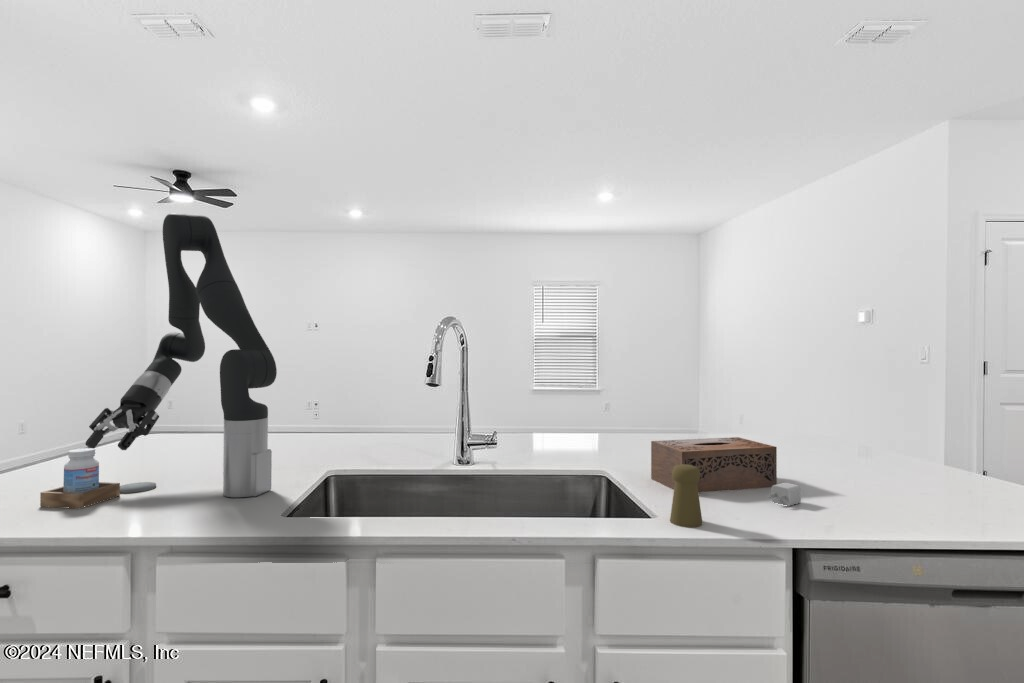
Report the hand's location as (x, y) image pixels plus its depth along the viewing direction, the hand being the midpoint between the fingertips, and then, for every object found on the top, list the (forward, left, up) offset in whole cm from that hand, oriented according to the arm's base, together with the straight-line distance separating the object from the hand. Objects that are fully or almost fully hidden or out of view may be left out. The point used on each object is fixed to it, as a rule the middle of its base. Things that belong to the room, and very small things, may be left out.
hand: (105, 447), depth 124 cm
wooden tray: (0, +6, -11) cm, 12 cm away
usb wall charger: (-151, -16, -11) cm, 152 cm away
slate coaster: (-3, -5, -11) cm, 12 cm away
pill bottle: (0, +6, -11) cm, 12 cm away
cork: (-129, -1, -11) cm, 129 cm away
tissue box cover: (-140, -33, -11) cm, 144 cm away
